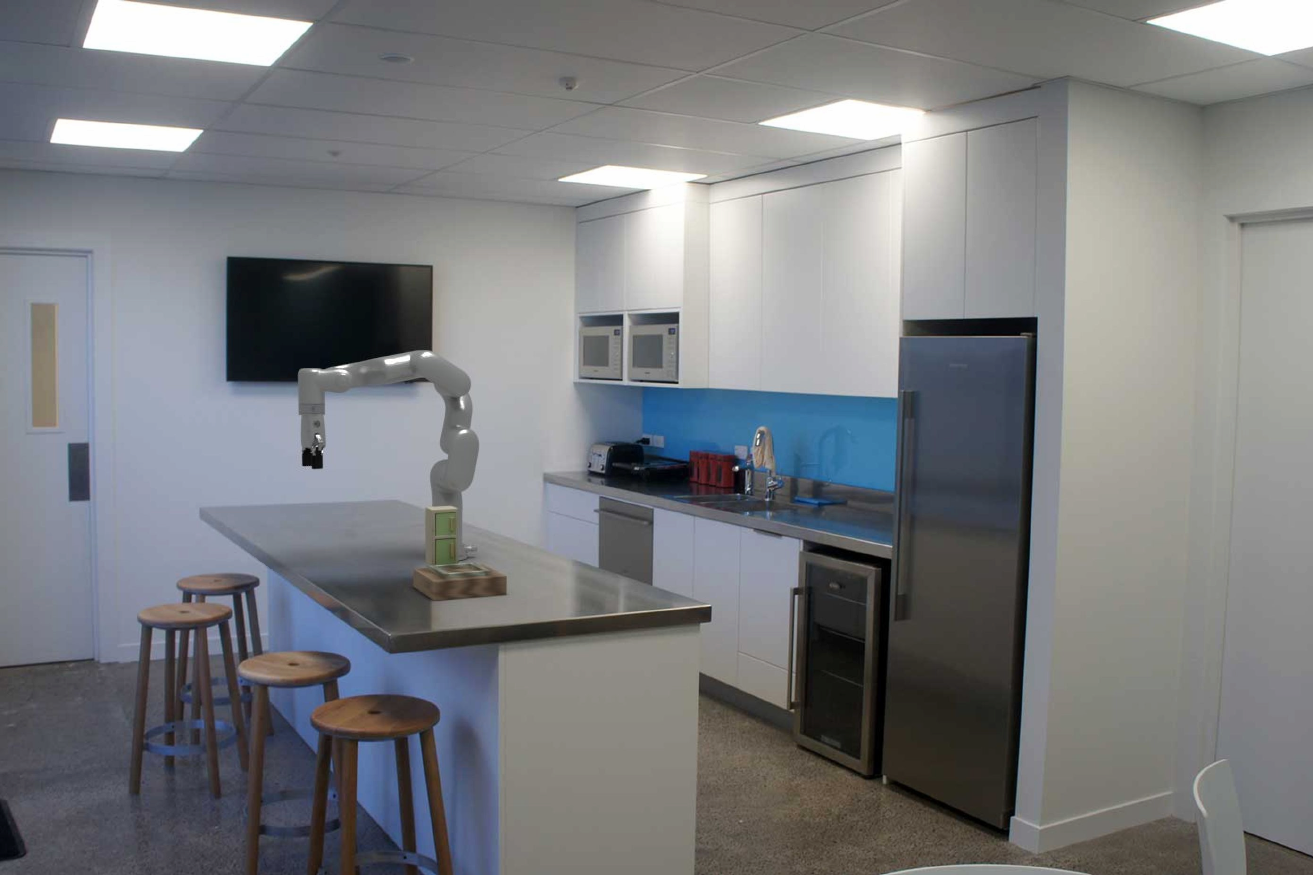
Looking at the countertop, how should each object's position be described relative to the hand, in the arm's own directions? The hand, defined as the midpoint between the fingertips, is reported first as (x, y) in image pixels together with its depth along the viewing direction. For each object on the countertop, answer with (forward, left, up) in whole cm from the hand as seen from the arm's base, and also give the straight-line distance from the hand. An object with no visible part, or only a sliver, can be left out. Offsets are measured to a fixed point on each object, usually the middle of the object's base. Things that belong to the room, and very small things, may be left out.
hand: (312, 467), depth 332 cm
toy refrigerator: (-30, +31, -31) cm, 53 cm away
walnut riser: (-30, +47, -31) cm, 64 cm away
